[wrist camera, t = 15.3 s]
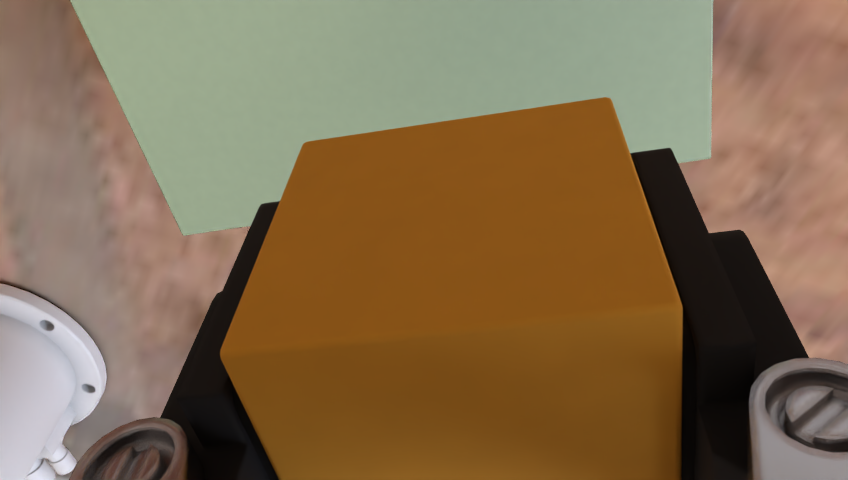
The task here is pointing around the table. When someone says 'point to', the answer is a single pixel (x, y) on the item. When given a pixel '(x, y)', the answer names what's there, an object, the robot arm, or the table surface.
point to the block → (464, 308)
